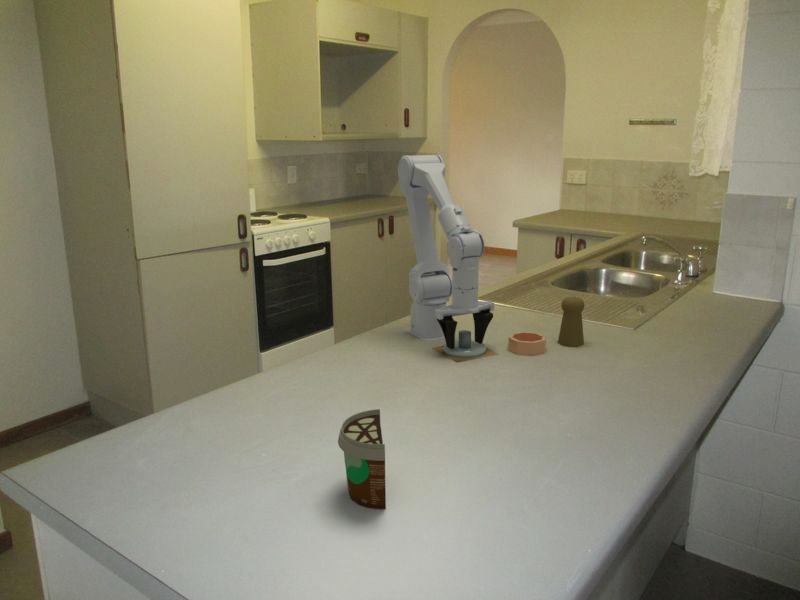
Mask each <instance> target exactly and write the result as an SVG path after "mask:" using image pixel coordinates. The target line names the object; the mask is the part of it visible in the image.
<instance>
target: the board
mask: <svg viewBox="0 0 800 600" xmlns="http://www.w3.org/2000/svg"><path fill="white" fill-rule="evenodd" d="M431 349H432V350H433V351H435V352H437V353H438V354H441V355H443V356H444V357H445V358H448V359H450V360H451V361H454V362H455V363H462V362H466V361H471V360H472V361H473V360H476V359H483V358H487V357H491V356H492V357H493V356H498V355H499V353H498V352H496V351H494V350H492V349H490V348H487V347H486V353H485V354H484V355H482V356H479V357H474V358H457V357H452V356H449V355H447V354H445V353H444V345H441V346H437V347H431Z"/></svg>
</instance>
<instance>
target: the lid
mask: <svg viewBox="0 0 800 600" xmlns="http://www.w3.org/2000/svg"><path fill="white" fill-rule="evenodd" d="M443 346H444V353H445V354H447V355H449V356H452V357H457V358H474V357H479V356H482V355H484V354H485V353H486V348H487V345H485V343H482V344H479V343H477V342H475V340H472V331H470V330H466V329H465V330H463V329H462V330H459V331H458V340H455V346H454V349H450V348H448V347H447V345H446V343H445V344H444V345H443Z"/></svg>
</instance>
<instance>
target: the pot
mask: <svg viewBox="0 0 800 600" xmlns="http://www.w3.org/2000/svg"><path fill="white" fill-rule="evenodd" d="M507 348H508V349H507V350H508V352H511V353H514V354H515V355H520V356H531V357H532V356H533V357H534V356H537V355H543V354H545V351H546V349H547V336H546V335H544V334H541V333H539V332H537V331H535V332H534V331H518V332H513V333H510V334H509V336H508V347H507Z"/></svg>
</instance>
